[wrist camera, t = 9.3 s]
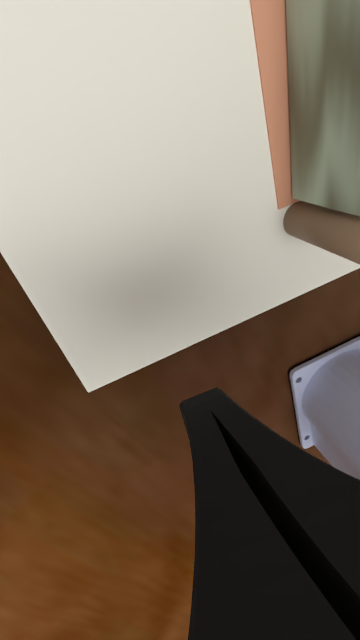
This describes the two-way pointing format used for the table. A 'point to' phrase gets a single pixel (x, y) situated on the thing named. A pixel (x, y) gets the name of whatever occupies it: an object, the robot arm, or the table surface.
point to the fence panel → (325, 102)
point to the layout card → (153, 175)
